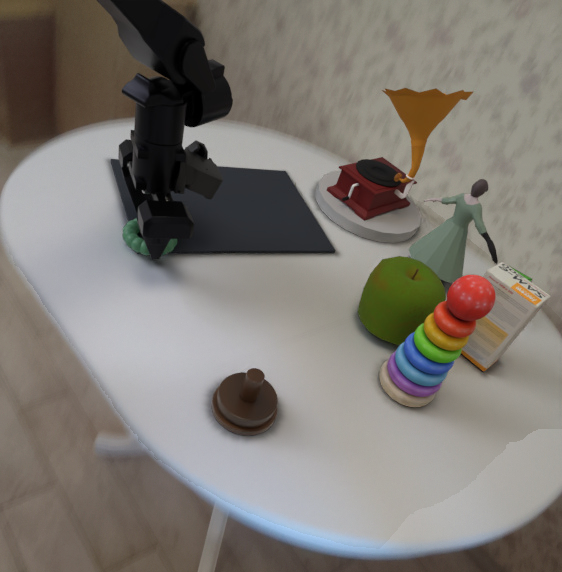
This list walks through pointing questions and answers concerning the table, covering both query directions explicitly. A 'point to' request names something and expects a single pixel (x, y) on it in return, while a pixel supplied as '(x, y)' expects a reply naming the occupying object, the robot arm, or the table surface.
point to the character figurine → (453, 235)
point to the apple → (399, 298)
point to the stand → (245, 403)
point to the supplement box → (503, 315)
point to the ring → (140, 239)
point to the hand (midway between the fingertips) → (149, 240)
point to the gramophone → (386, 175)
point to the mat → (244, 215)
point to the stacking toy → (436, 343)
